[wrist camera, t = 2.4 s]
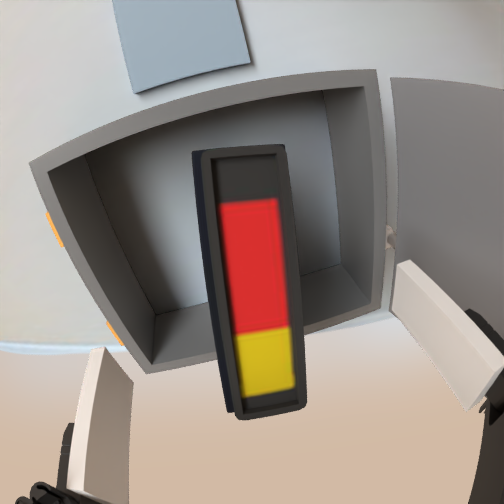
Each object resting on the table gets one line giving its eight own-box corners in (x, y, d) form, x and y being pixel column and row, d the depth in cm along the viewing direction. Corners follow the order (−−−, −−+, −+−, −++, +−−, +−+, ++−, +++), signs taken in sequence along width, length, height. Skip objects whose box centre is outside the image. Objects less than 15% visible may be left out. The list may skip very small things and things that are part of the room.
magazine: (216, 323, 26) (229, 428, 11) (198, 173, 24) (186, 98, 9) (258, 317, 26) (314, 412, 11) (242, 168, 25) (286, 93, 10)
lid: (642, 147, 1) (639, 144, 1) (389, 77, 12) (402, 77, 13) (511, 422, 10) (519, 410, 10) (388, 310, 21) (398, 304, 21)
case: (61, 146, 17) (-92, 250, 4) (381, 70, 18) (557, 93, 5) (145, 326, 26) (135, 480, 13) (388, 256, 28) (485, 365, 14)
